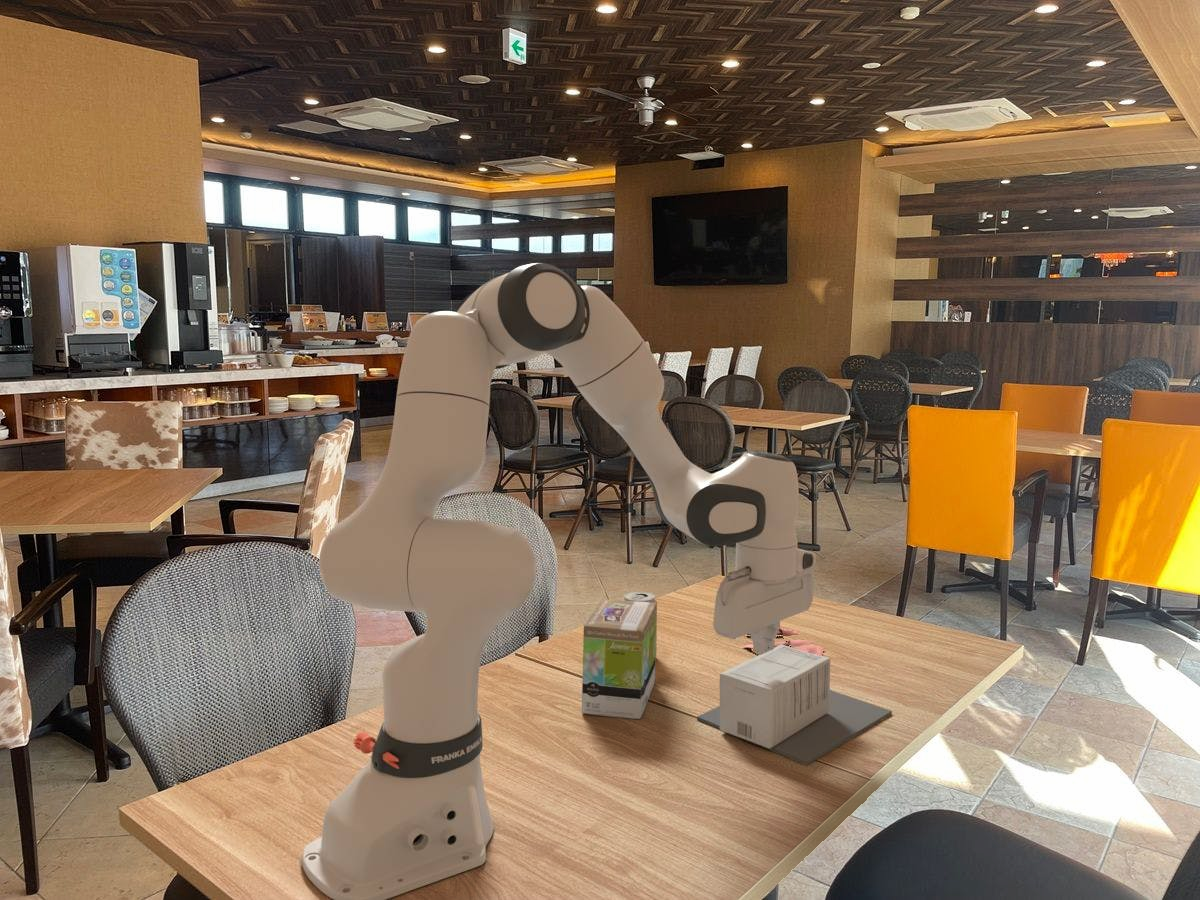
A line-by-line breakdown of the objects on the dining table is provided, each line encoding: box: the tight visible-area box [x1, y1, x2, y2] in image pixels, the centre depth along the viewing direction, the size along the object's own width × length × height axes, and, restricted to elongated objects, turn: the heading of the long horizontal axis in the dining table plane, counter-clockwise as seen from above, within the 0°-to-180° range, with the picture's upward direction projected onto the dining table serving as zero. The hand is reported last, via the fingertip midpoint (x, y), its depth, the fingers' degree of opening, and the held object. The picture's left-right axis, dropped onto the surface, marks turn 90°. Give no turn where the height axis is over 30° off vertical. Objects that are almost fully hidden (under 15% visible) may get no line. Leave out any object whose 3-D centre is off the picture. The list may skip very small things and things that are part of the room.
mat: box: [696, 689, 893, 766], centre depth 140 cm, size 24×20×1 cm
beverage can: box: [623, 591, 658, 652], centre depth 164 cm, size 6×6×12 cm
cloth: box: [743, 627, 825, 656], centre depth 174 cm, size 20×22×2 cm
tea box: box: [581, 598, 658, 720], centre depth 146 cm, size 15×10×15 cm
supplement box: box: [719, 644, 831, 749], centre depth 137 cm, size 10×9×17 cm
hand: (763, 651), depth 132 cm, fingers closed
